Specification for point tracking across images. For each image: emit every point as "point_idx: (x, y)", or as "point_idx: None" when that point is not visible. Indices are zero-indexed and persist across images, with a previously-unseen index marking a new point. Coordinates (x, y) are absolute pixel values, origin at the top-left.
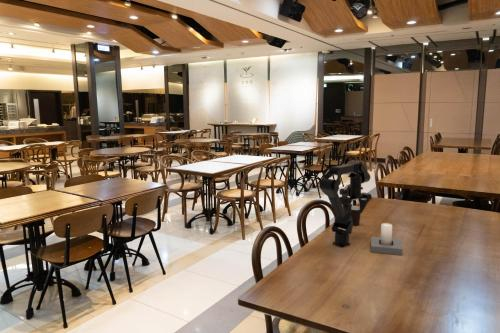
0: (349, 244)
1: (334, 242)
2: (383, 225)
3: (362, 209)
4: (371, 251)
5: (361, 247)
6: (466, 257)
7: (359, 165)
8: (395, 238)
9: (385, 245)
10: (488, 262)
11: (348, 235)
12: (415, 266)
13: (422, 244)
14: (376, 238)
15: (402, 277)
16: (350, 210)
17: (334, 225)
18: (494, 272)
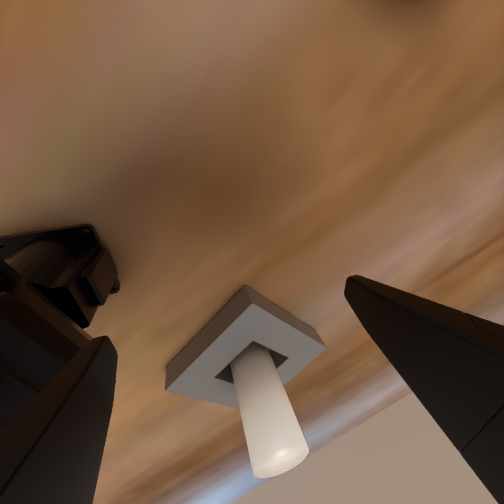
0: (110, 292)
1: (6, 248)
2: (257, 470)
3: (376, 341)
4: (168, 369)
5: (158, 324)
6: (356, 403)
7: None
8: (316, 342)
9: (226, 388)
10: (360, 419)
11: (101, 302)
12: (221, 437)
13: (365, 339)
14: (252, 329)
15: (144, 476)
16: (82, 498)
17: None
18: (326, 445)
